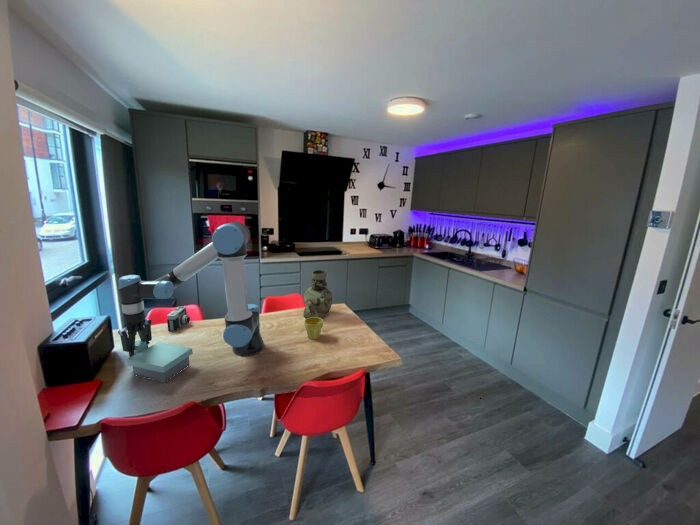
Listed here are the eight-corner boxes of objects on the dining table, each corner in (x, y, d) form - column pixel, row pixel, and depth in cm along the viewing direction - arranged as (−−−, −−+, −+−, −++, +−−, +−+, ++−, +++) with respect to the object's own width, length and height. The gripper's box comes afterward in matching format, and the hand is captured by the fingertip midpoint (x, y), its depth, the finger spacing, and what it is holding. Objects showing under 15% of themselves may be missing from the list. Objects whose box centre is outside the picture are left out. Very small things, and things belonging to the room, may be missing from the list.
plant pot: (300, 338, 158) (300, 322, 156) (310, 331, 167) (310, 315, 165) (317, 342, 154) (317, 326, 152) (325, 334, 164) (326, 319, 162)
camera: (182, 331, 161) (181, 314, 158) (167, 331, 160) (165, 314, 158) (194, 321, 174) (192, 305, 172) (180, 320, 173) (178, 305, 171)
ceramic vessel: (312, 325, 175) (313, 278, 168) (297, 313, 191) (297, 270, 185) (338, 319, 186) (340, 274, 179) (322, 308, 202) (323, 267, 196)
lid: (192, 354, 129) (191, 342, 128) (163, 373, 115) (162, 360, 113) (150, 346, 134) (149, 334, 133) (118, 363, 120) (116, 350, 119)
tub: (189, 365, 129) (188, 351, 128) (165, 382, 117) (163, 367, 116) (160, 359, 133) (159, 345, 132) (134, 375, 121) (131, 360, 119)
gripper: (144, 303, 131) (150, 349, 136) (105, 317, 115) (113, 369, 120) (158, 305, 129) (163, 352, 135) (120, 320, 113) (128, 372, 118)
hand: (140, 360), depth 127 cm, fingers closed on lid, 4 cm apart
